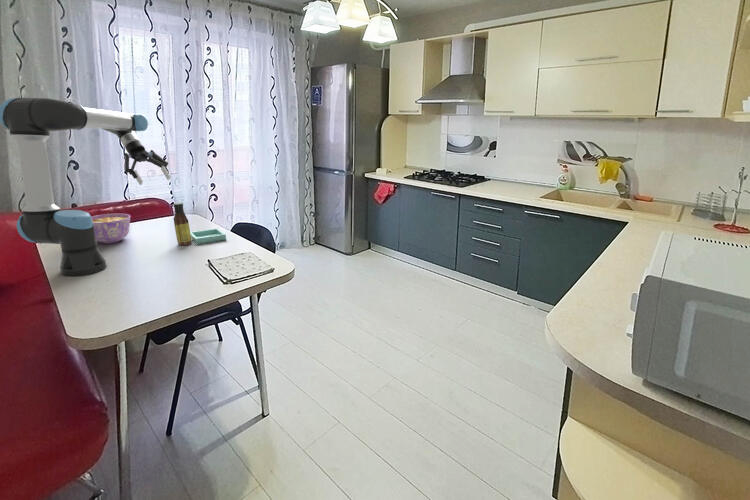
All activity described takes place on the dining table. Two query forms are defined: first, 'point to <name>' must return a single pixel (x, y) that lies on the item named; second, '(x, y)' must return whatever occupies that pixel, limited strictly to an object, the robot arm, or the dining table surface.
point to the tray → (207, 236)
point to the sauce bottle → (181, 225)
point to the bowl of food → (111, 227)
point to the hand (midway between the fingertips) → (155, 180)
